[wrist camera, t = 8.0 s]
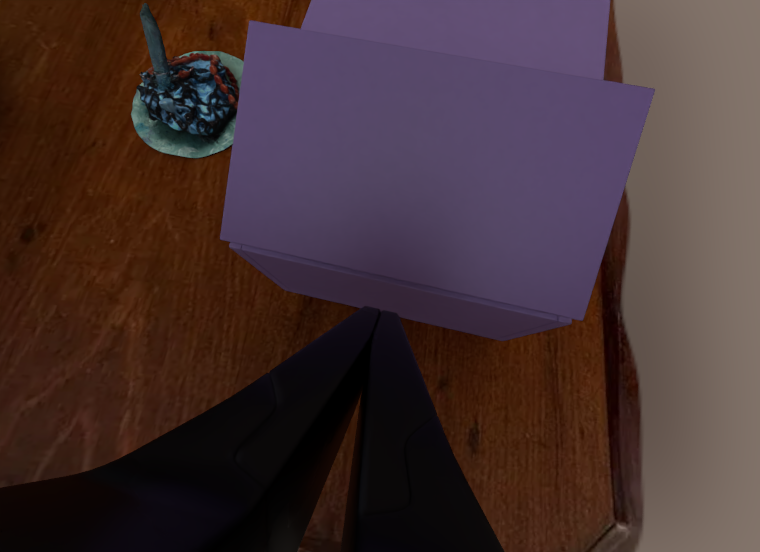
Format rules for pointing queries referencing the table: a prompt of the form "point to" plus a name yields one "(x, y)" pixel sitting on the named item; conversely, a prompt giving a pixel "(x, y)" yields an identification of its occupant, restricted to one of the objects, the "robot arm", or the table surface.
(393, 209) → the flap
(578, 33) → the file box
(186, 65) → the dish
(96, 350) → the table surface
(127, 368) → the table surface
